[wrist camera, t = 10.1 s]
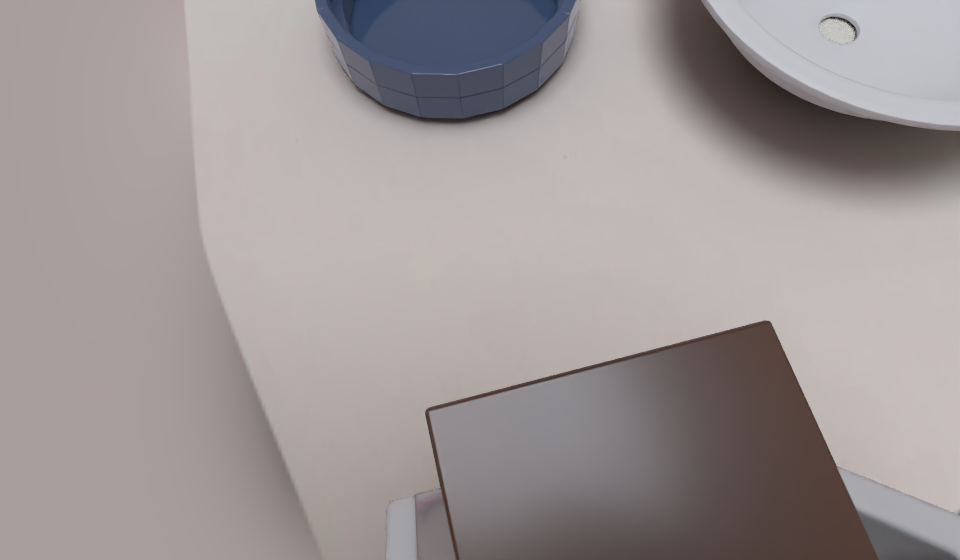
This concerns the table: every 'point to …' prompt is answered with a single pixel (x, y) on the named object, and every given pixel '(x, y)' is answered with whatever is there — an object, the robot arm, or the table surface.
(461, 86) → the bowl
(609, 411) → the block
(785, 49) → the white sink basin
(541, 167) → the table surface
